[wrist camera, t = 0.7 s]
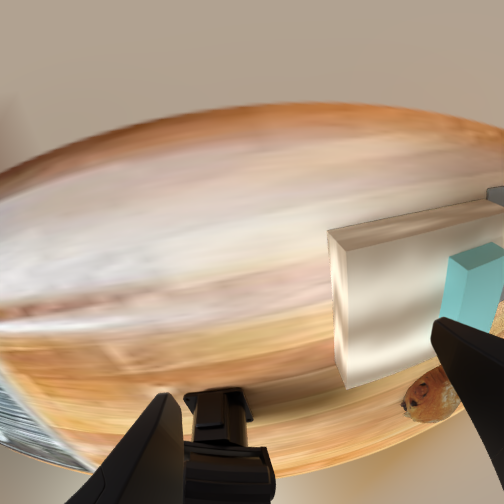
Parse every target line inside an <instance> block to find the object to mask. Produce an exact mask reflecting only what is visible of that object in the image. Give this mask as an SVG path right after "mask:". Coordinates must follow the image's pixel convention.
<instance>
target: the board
mask: <svg viewBox="0 0 504 504" xmlns="http://www.w3.org/2000/svg"><path fill="white" fill-rule="evenodd" d="M327 239H328V249H329V260H330V272H331V285H332V301H333V320H334V351H335V363H336V366H337V368H338V370H339V373H340V375H341V378H342V380H343V383H344V385H345V388H346V390H348V389H351V388H354V387H357V386H360V385H364V384H367V383H370V382H373V381H375V380H378V379H381V378H384V377H387V376H389V375H392V374H395V373H397V372H400V371H402V370H405V369H407V368H410V367H412V366H415V365H417V364H419V363H422V362H424V361H426V360H429V359H431V358H433V357H435V356H437V355H436V353H435V351H434V349H433V347H432V345H431V341H430V336H431V331H432V326H433V322H434V321H435V320H436V319H438V318H439V314H440V309H441V304H442V298H443V293H444V287H445V281H446V274H447V266H448V258H449V256H452V255H455V254H458V253H461V252H464V251H467V250H470V249H473V248H476V247H479V246H482V245H485V244H487V243H490V242H493V243H495V244H497V245H498V246H500V247H502V248H503V249H504V207H503V206H500V205H498V204H496V203H493V202H491V201H489V200H486V199H480V200H475V201H470V202H465V203H460V204H455V205H450V206H445V207H440V208H436V209H431V210H426V211H421V212H416V213H411V214H406V215H401V216H396V217H391V218H386V219H382V220H377V221H372V222H367V223H362V224H357V225H353V226H348V227H343V228H338V229H333V230H329V231H327Z"/></svg>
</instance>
